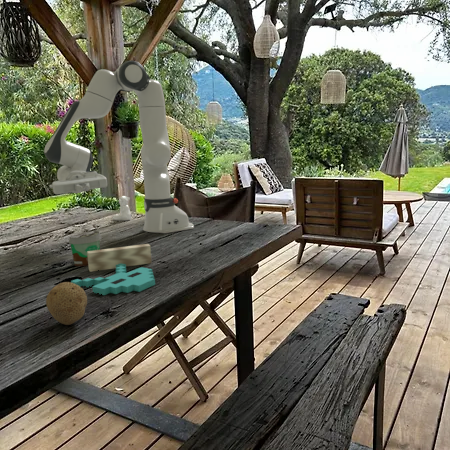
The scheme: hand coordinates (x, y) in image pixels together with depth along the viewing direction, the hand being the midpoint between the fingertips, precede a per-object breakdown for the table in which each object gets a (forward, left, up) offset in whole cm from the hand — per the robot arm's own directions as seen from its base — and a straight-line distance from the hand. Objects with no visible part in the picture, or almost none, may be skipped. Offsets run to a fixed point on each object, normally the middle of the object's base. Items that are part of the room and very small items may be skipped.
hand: (85, 188), depth 168 cm
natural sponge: (+14, +68, -23) cm, 73 cm away
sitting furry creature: (-24, -49, -23) cm, 59 cm away
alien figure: (-2, +45, -23) cm, 51 cm away
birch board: (-6, +29, -23) cm, 37 cm away
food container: (+3, +20, -23) cm, 31 cm away
